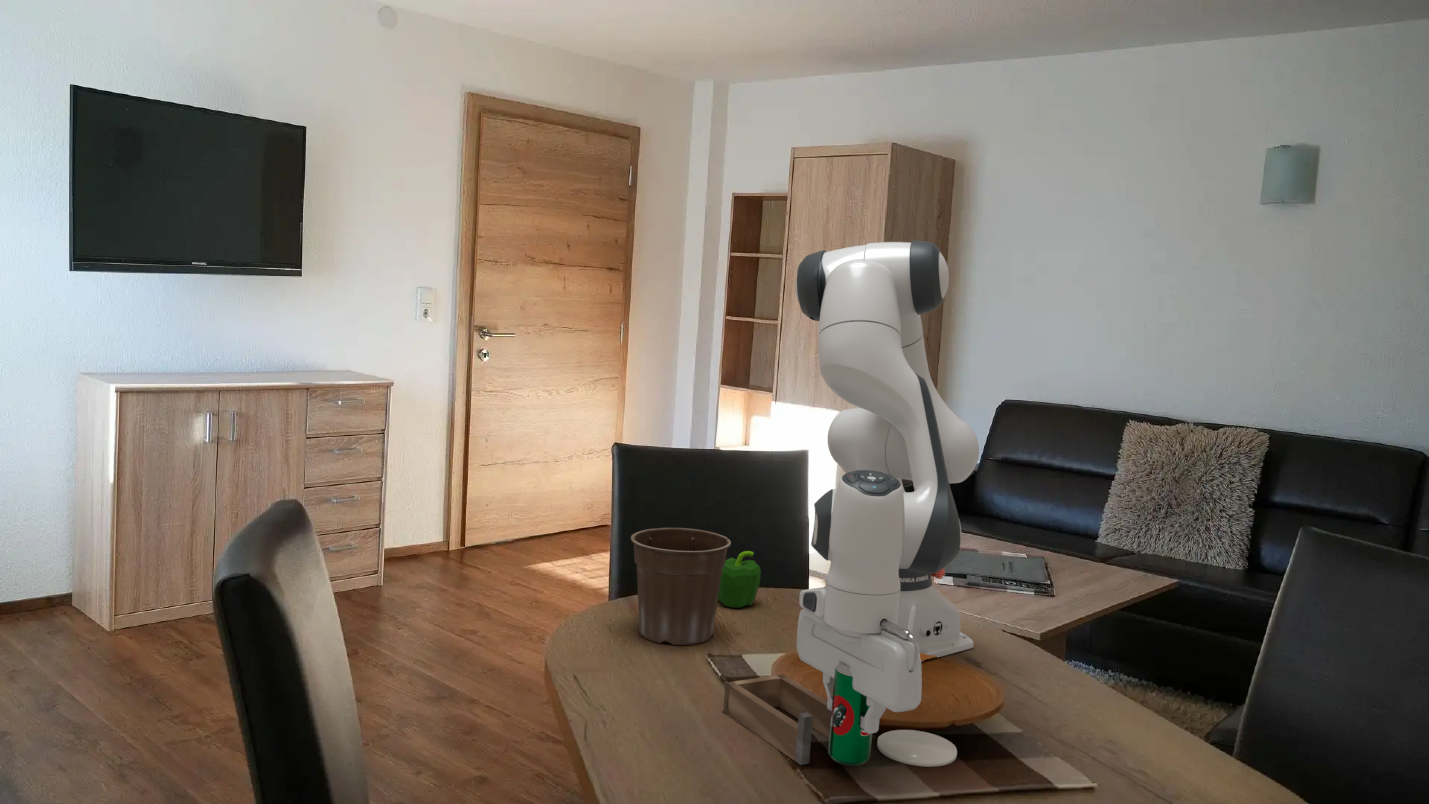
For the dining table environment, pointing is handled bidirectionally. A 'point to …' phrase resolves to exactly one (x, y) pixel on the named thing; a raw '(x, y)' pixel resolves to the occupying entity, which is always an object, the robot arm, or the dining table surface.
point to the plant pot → (678, 583)
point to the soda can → (848, 721)
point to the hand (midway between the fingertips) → (851, 721)
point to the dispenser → (778, 712)
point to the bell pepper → (739, 581)
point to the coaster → (917, 748)
